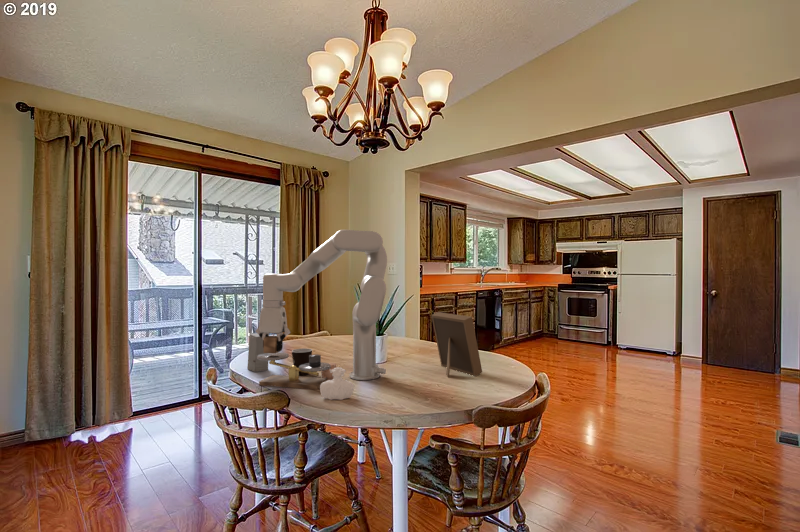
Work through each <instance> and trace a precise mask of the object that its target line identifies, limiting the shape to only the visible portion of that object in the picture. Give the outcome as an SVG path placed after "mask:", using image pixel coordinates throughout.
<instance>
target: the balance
mask: <svg viewBox="0 0 800 532" xmlns="http://www.w3.org/2000/svg"><path fill="white" fill-rule="evenodd" d="M289 356H290V354H289V353H287V352H282V351H280V352H278V353H265V354H261V355H258V356H257V359H258V360H262V361H268V365H269V364H270V365H272V366H273V365H274V366H277V367H281V368H283V369H284V368H285V369H288V376H289V381H296V380H298V379H299V371H300V372H304V373H308V375H313V376H317V377H318V376H319V374H320V372H321V371H324V370H327V369H330V368H331V365H330V364H328V363H329V362H322V359H321V358H322V357H321V354H316V353H315V354H312V355H309V363H306V364H302V365H300V366H299V368H297V367H296V366H294V365H293V364H292V365H287V364H284V363H280V362H276V361H280V360H286V359H287V358H289Z"/></svg>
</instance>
